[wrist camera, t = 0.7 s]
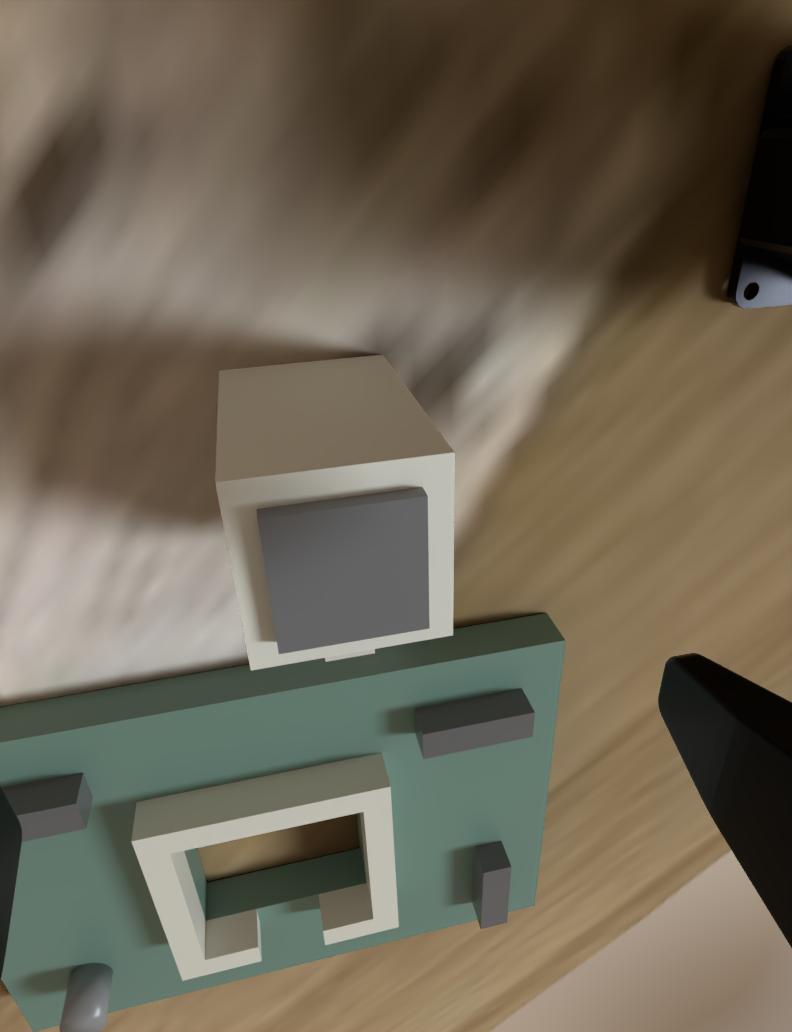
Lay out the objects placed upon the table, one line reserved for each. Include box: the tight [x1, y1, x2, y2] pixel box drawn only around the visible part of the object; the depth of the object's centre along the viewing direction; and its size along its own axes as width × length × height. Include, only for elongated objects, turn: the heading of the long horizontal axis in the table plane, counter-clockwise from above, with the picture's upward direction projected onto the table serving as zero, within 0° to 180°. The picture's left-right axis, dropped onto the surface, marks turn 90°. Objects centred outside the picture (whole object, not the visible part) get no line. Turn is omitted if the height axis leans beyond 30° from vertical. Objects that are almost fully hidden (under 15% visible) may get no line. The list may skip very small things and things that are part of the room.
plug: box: [215, 355, 455, 671], centre depth 17 cm, size 4×6×7 cm
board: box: [0, 613, 565, 1032], centre depth 25 cm, size 22×16×3 cm
